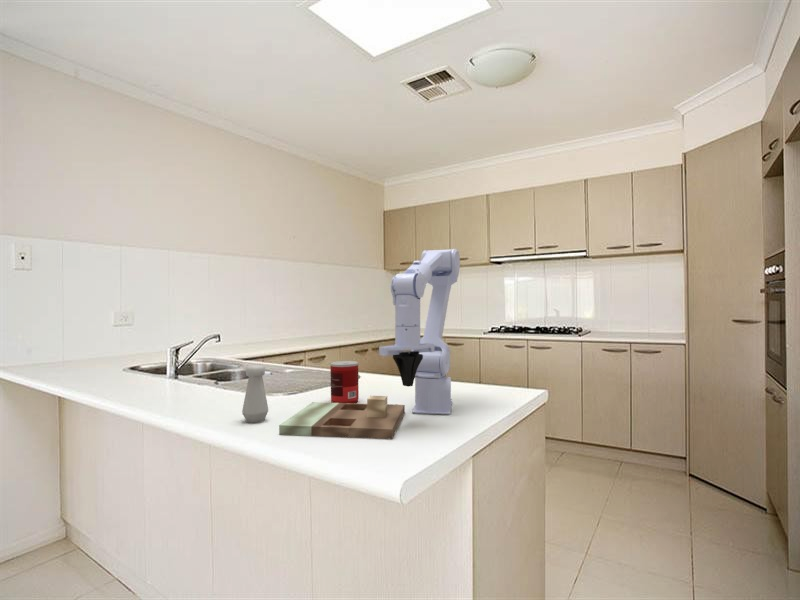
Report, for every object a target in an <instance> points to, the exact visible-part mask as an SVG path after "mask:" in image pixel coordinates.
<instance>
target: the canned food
mask: <svg viewBox="0 0 800 600" xmlns="http://www.w3.org/2000/svg"><path fill="white" fill-rule="evenodd" d="M359 395H360V394H359V362H358V361H355V360H340V361H339V360H337V361H333V362H331V363H330V401H331V403H358V401H359Z"/></svg>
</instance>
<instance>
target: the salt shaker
mask: <svg viewBox="0 0 800 600" xmlns="http://www.w3.org/2000/svg"><path fill="white" fill-rule="evenodd" d="M265 374H266V369H265V366H264V365H260V364H253V365H252V364H251V365H248V366H247V367H246V368H245V376H246V377H247V378H248V379H247V386H246V389H245V395H244V401H243V405H242V411H241V413H242V415H243V418H244V419H245V421H246V423H248V424H257V423H262V422H265V420H266V418H267V415H268V412H269V406H268V400H267V396H266V390H265V385H264V378H263V376H264V375H265Z"/></svg>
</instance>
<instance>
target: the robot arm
mask: <svg viewBox="0 0 800 600" xmlns="http://www.w3.org/2000/svg"><path fill="white" fill-rule="evenodd" d="M460 268H461V257H460V252H459V251H458V250H457V248H452V249H432V250H429V249H424V250H423V251H422V253H421V255H420V260H414V261H413V262H412V264H411V265H410V266H409V267H408V268H406V270H404V272H402V273H396V275H394V276H393V277H392V279H391V283H390V293H391V295H392V304H393V306H394V308H395V310H394V311H395V313H394V320H395V323H394V326H395V327H394V329H395V330H394V331H395V332H394V339H395V340H394V344H391V345H385V346H383V345H382V346H379V347H378V356H382V357H388V356H392V359H393V360H394V362H395V364H396V366H397V369H398V372H399V374H400V379H401V382H402V386H404V387H413V386H414V391H415V393H414V399H415V400H414V407H413V409H412V410H411V411H412V412H411V413H412V414H428V415H431V414H432V415H451V411H452V407H453V398H451V397H452V393H451V392H452V388H451V387H452V380H451V379H452V377H451V376H446V375H447V374H448V373H449V371H450V367H451V350H450V347H449V345H448V344H447V343H446V342H445V341H444V340H443V333H444V328H445V321H446V317H447V312H448V311H447V310H448V303H449V300H450V299H449V298H450V292H451V289H452V285H454V284H455V283H457V282H458V279H459V274H460ZM427 284H429V285H431V286H432V290H431V296H430V301H429V306H428V311H427V317H426V321H425V328H424V332H423V335H422V337H421V298H423V297H424V294H425V289H426V286H427ZM413 384H415V385H413Z"/></svg>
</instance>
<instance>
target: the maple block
mask: <svg viewBox="0 0 800 600" xmlns="http://www.w3.org/2000/svg"><path fill="white" fill-rule="evenodd" d="M366 404H367V417H382V418H385V416H386V415H387V404H388V396H387V395H370V396H368V398H367V399H366Z"/></svg>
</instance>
